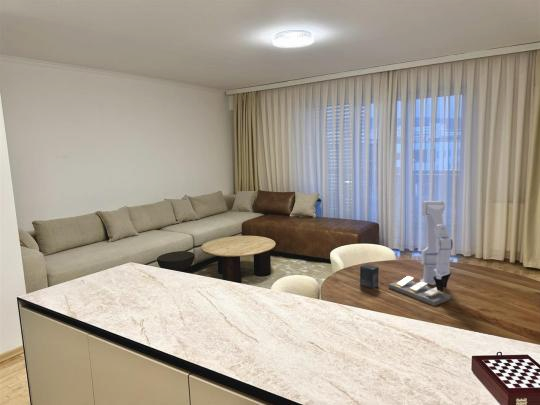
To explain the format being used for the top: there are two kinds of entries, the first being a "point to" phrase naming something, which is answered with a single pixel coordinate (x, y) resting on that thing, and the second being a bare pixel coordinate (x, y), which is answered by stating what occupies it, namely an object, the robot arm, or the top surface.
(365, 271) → the box
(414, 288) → the rocker
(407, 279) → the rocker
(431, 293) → the rocker
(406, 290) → the switch panel
